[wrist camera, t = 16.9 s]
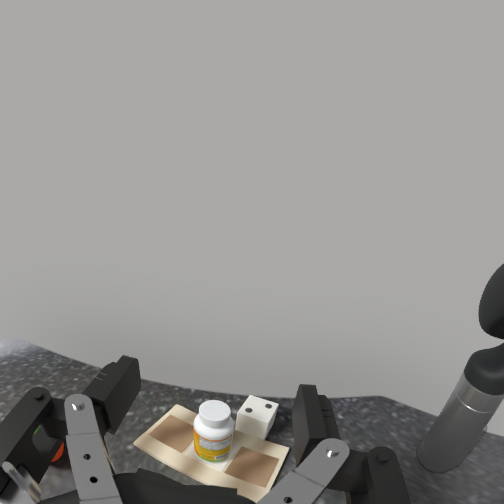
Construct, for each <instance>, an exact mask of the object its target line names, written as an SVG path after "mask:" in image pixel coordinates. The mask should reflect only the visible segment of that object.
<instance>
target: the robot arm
mask: <svg viewBox="0 0 504 504" xmlns="http://www.w3.org/2000/svg"><path fill="white" fill-rule="evenodd" d="M479 322H480V325H481V328H482V329H483V330H484V331H485V332H486V333H487V334H489V335H491V336H493V337H497V338H500V339H504V264H503V265H501V267H500V268H498V269H497V270H496V272H495V273H494V274H493V275H492V277H491V279H490V280H489V281H488V283H487V285H486V287H485V290H484V292H483V295H482V297H481V301H480V305H479ZM140 387H141V378H140V371H139V363H138V359H136V358H132V357H128V356H125V355H123V356H122V357H121V358H120V359H119V360H118V362H117V363H115V362H112V363H110V364H108V365H106V366H105V367H104V368H103V369H102V370H101V371H100V373H99V374H98V375H97V376H96V378H95V379H94V380H93V381H92V382H91V383H90V385H89V386H88V387H87V388H86V389H85V391H84V392H83V393H82V394H74V395H71V396H69V397H68V398H67V399H66V400H63V399H57V398H52V397H51V395H50V393H49V391H48V390H47V389H45V388H42V387H36V388H32V389H30V390H29V391H28V392H27V393H26V394H25V395H24V397H23V398H22V399H21V400H20V401H19V402H18V403H17V404H16V406H15V407H14V408H13V409H12V410H11V411H10V413H9V414H8V415H7V416H6V417H5V418H4V420H3V421H2V422H1V423H0V504H314V503H315V502H316V501H317V499H318V498H319V497H320V496H321V494H322V493H323V492H324V491H325V489H326V488H328V489H333V490H338V491H344V492H345V493H346V501H347V504H411V502H410V499H409V495H408V492H407V488H406V485H405V481H404V478H403V475H402V472H401V469H400V465H399V462H398V459H397V456H396V454H395V453H394V452H393V451H392V450H391V449H389V448H387V447H375V448H373V449H371V450H370V451H369V453H366V452H359V451H354V450H351V449H349V447H348V446H347V444H346V443H345V442H343V441H341V439H340V436H339V432H338V428H337V424H336V420H335V417H334V413H333V411H332V410H333V409H332V405H331V402H330V401H329V400H328V398H327V397H326V396H325V395H318V393H317V389H316V386H315V385H305V384H300V385H299V388H298V391H297V395H296V398H295V402H294V405H293V410H292V421H293V432H294V444H295V455H296V468H297V469H296V470H294V471H293V470H292V471H290V472H289V473H288V474H287V475H286V476H285V477H284V478H283V479H282V480H281V481H280V482H279V483H278V484H277V485H276V486H275V487H274V488H272V489H271V490H270V491H269V492H268V493H267V494H266V495H265V496H264V497H263V498H261V499H260V500H259V501H258V502H257V503H255V502H254V501H252V500H250V499H249V498H246V497H244V496H241V495H238V494H237V490H238V488H229V487H222V486H215V485H183V484H181V483H179V482H177V481H174V480H172V479H170V478H168V477H166V476H164V475H162V474H158V473H155V472H151V471H148V470H144V469H141V468H138V470H137V473H121V474H117V472H116V470H115V468H114V465H113V462H112V459H111V457H110V454H109V451H108V447H107V444H106V441H105V438H104V435H105V434H106V432H109V433H111V434H115V432H116V431H117V429H118V427H119V426H120V424H121V422H122V420H123V419H124V417H125V415H126V413H127V412H128V410H129V408H130V407H131V405H132V403H133V402H134V400H135V398H136V396H137V395H138V393H139V391H140ZM503 398H504V343H503V344H501V345H499V346H497V347H494V348H490V349H484V350H479V351H477V352H475V353H474V354H472V356H471V357H470V359H469V360H468V362H467V365H466V367H465V369H464V371H463V373H462V375H461V377H460V379H459V381H458V383H457V385H456V387H455V389H454V391H453V392H452V394H451V396H450V398H449V400H448V401H447V403H446V405H445V407H444V408H443V410H442V412H441V413H440V415H439V416H438V418H437V420H436V421H435V423H434V424H433V426H432V427H431V429H430V430H429V432H428V433H427V435H426V436H425V438H424V439H423V440H422V442H421V443H420V445H419V446H418V449H417V457H418V459H419V461H420V463H421V464H422V465H423V466H424V467H425V468H427V469H428V470H430V471H433V472H446V471H448V470H450V469H452V468H453V467H454V466H459V465H460V464H461V462H462V461H463V460H464V459H465V458H466V457H467V455H468V454H469V453H470V452H471V451H472V449H473V448H474V447H475V446H476V444H477V443H478V442H479V440H480V439H481V438H482V436H483V435H484V434H485V432H486V431H487V424H488V422H489V420H490V419H491V418H492V416H493V414H494V413H495V411H496V410H497V408H498V407H499V405H500V403H501V402H502V400H503ZM39 426H40V427H39ZM38 427H39V428H38ZM36 430H37V431H36ZM34 433H35V434H34ZM64 440H66V442H67V447H68V453H69V458H70V463H71V467H72V471H73V476H74V480H75V483H76V487H77V490H74V491H71V492H68V493H65V494H62V495H59V496H55V497H52V498H49V499H45V500H42V501H41V497H40V496H41V488H40V486H39V483H40V481H41V479H42V477H43V476H44V474H45V472H46V470H47V469H48V467H49V465H50V464H51V462H52V460H53V458H54V457H55V455H56V453H57V452H58V450H59V448H60V447H61V445H62V443H63V442H64Z"/></svg>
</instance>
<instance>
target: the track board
mask: <svg viewBox="0 0 504 504" xmlns="http://www.w3.org/2000/svg"><path fill="white" fill-rule="evenodd" d="M197 415H198V414H196V413H194V412H192V411H190V410H188V409H186V408H184V407H182V406H180V405H178V404H176V405H175V406H174V407H173V408H172V409H171V410H170V411H169V412H168V413H166V414H165V415H164V416H163V417H162V418H161V419H160V420H159V421H158V422H156V423H155V424H154V425H153V426H152V427H151V428H150V429H149V430H147V431H146V432H145V433H144V434H143V435H142V436H140V437H139V438H138V439H137V440H136V441H135V442H134V445H135V446H137V447H138V448H140V449H141V450H143V451H144V452H146V453H148V454H149V455H151V456H152V457H154V458H156V459H157V460H159V461H161V462H163V463H164V464H166V465H168V466H170V467H172V468H173V469H175V470H177V471H179V472H181V473H183V474H185V475H187V476H189V477H191V478H193V479H195V480H197V481H199V482H201V483H203V484H205V485H215V486H222V487H229V488H238V490H237V494H238V495H241V496H244V497H246V498H249V499H250V500H252V501H254V502H255V503H257V502H258V501H259V500H260V499H261V498H263V497H264V496H265V495H266V494H267V493H268V492H269V491H270V489H271V487H272V485H273V483H274V481H275V479H276V476H277V474H278V472H279V470H280V468H281V466H282V464H283V461H284V459H285V457H286V455H287V452H288V450H289V447H285V446H282V445H278V444H275V443H272V442H269V441H266V440H263V439H260V438H257V437H254V436H251V435H248V434H245V433H243V432H240V431H237V430H235V429H234V432H233V439H232V447H231V453H230V456H229V457H228V458H227V459H226V460H225V461H223V462H220V463H208V462H205V461H202V460H201V459H199V458H198V457H197V455H196V454H195V451H194V419H195V417H196V416H197Z"/></svg>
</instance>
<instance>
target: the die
mask: <svg viewBox="0 0 504 504" xmlns="http://www.w3.org/2000/svg"><path fill="white" fill-rule="evenodd" d="M278 405H279V404H277V403H274V402H270V401H267V400H264V399H261V398H258V397H255V396H252V395H250V396H249V397H248V399H247V400H246V401H245V403H244V404H243V406H242V407H241V408H240V410H239V411H238V413H237V420H236V427H235V430H237V431H240V432H243V433H245V434H248V435H251V436H254V437H257V438H260V439H263V440H265V438H266V437H267V435H268V433H269V431H270V429H271V427H272V425H273V423H274V420H275V416H276V412H277V408H278Z"/></svg>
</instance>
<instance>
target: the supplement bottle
mask: <svg viewBox="0 0 504 504" xmlns="http://www.w3.org/2000/svg"><path fill="white" fill-rule="evenodd" d="M230 414H231V410H230V408H229V406H228V405H227V404H225V403H224V402H221V401H217V400H210V401H206V402H204V403H203V404H202V405H201V406H200V408H199V414H198V415H197V416H196V417H195V419H194V451H195V454H196V455H197V457H198V458H199V459H201V460H202V461H205V462H208V463H220V462H223V461H225V460H226V459H227V458H228V457H229V456H230V453H231V447H232V439H233V432H234V422H233V419H232V418H231V417H230Z"/></svg>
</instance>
